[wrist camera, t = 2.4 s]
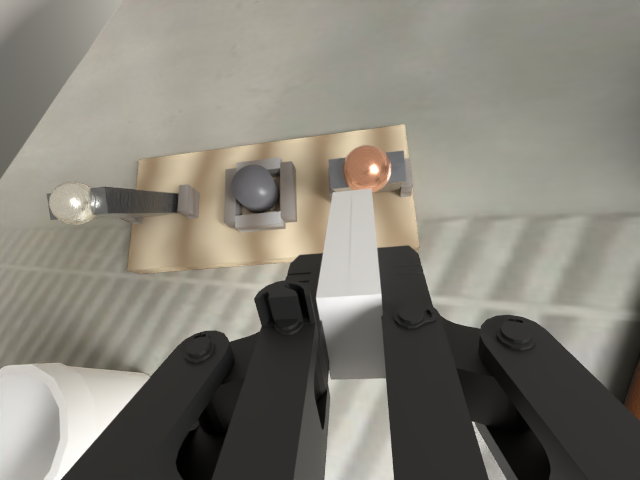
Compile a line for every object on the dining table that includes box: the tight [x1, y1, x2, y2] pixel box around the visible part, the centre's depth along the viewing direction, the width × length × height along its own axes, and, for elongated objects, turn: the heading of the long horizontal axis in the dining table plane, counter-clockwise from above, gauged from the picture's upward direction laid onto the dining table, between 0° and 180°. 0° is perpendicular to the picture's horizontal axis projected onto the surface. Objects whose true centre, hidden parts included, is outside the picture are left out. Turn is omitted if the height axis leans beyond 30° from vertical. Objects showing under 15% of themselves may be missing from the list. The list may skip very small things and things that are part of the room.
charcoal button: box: [231, 164, 279, 213], centre depth 36 cm, size 4×4×3 cm
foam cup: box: [0, 363, 150, 480], centre depth 30 cm, size 10×9×13 cm
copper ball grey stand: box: [328, 145, 406, 193], centre depth 29 cm, size 5×3×14 cm, turn 92°
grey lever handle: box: [47, 182, 180, 225], centre depth 33 cm, size 5×3×14 cm, turn 93°
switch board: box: [121, 124, 419, 274], centre depth 38 cm, size 30×13×4 cm, turn 92°
